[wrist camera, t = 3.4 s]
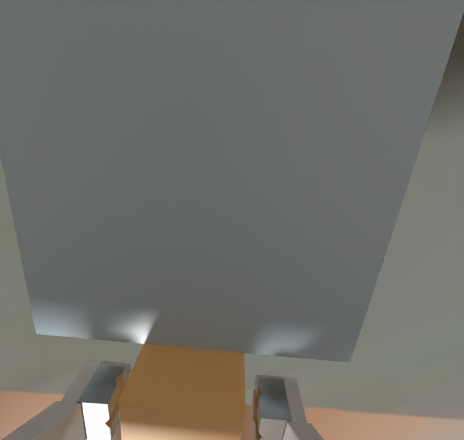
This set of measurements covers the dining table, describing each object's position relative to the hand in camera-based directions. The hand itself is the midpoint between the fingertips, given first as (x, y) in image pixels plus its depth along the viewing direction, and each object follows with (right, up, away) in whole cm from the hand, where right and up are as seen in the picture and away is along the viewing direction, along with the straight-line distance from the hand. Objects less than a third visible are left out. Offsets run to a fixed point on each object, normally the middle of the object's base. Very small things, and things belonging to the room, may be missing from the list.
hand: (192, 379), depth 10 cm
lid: (+1, +7, -1) cm, 7 cm away
